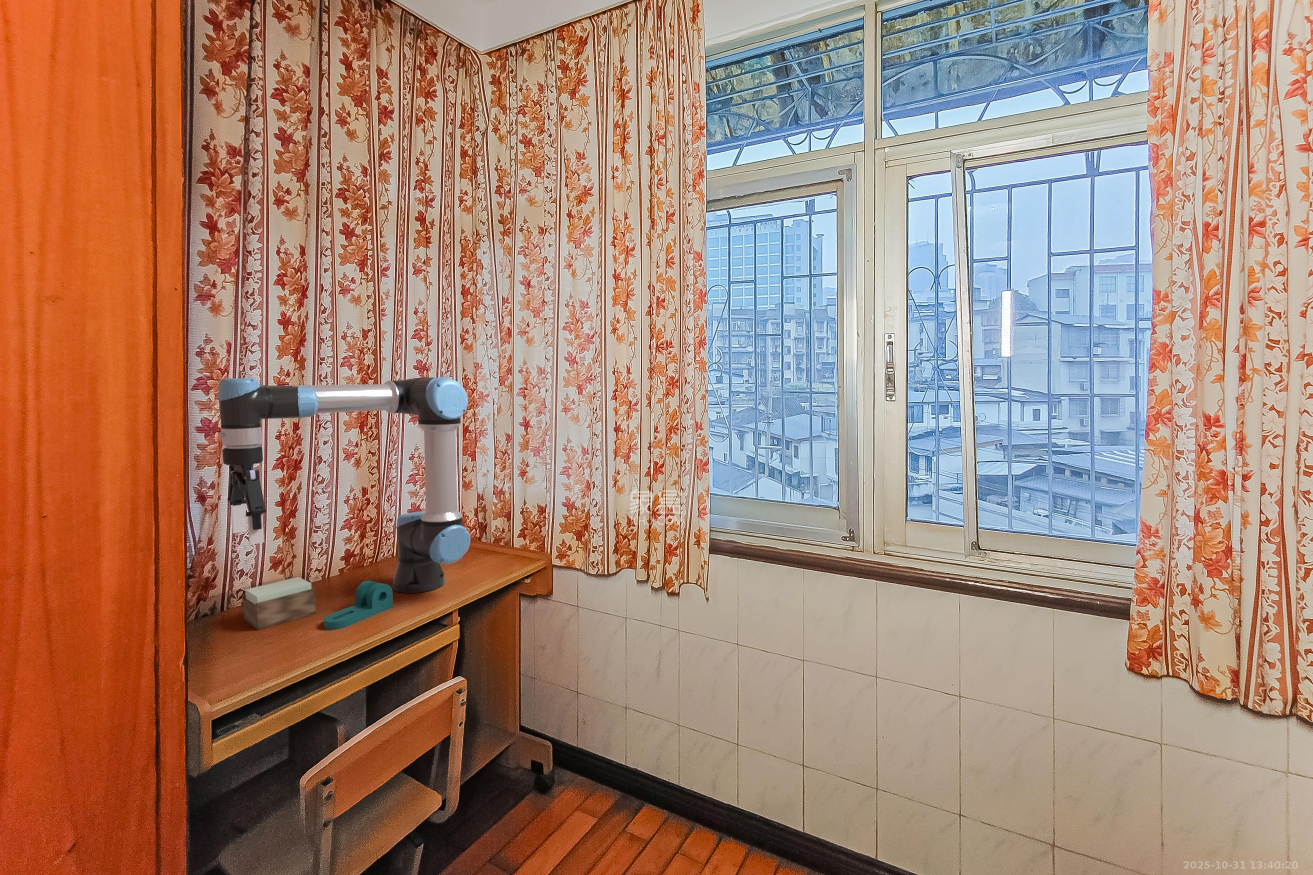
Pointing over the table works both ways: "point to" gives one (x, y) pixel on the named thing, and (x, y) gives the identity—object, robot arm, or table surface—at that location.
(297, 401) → the robot arm
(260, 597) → the lid
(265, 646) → the table surface
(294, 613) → the box
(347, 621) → the bracket
